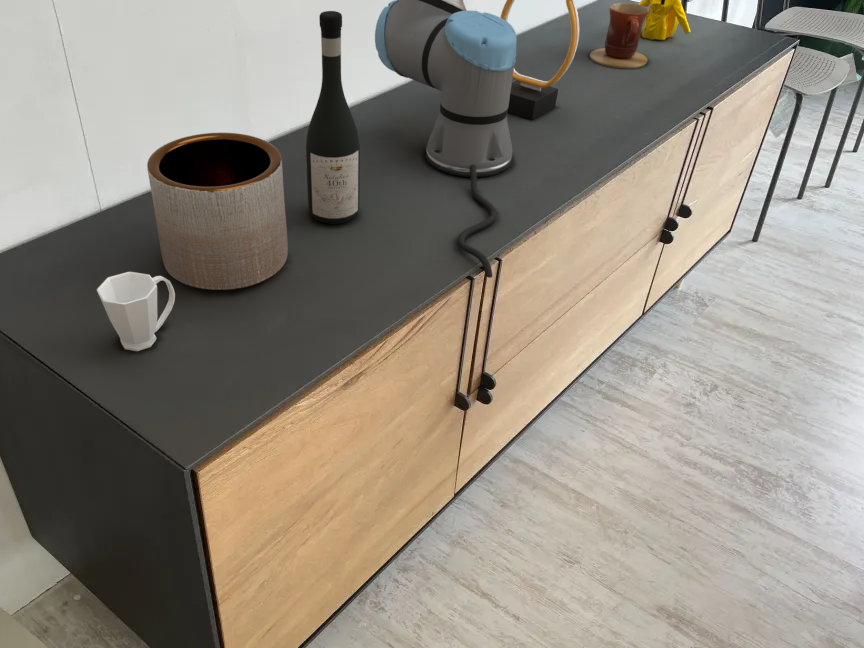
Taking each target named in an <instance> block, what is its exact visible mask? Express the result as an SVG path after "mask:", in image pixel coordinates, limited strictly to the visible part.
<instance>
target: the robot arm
mask: <svg viewBox="0 0 864 648" xmlns="http://www.w3.org/2000/svg"><path fill="white" fill-rule="evenodd" d="M664 3H665V0H661V4H660V5H664ZM500 17H501V16H497V15H495V14H492V13H489V12H485V11H484V12H480V11H478V10H467V8H466V5H465V2H464V0H392V1H390V2H389V3H388V5H387V6H385V7H383V8H382V9H381V12H380V14H379V16H378V18H377V21H376V25H375V30H374V44H375V50H376V51H377V55H378V58H379V60H380V62H381V63H382V65H384V67H386V68H387V69H388V70H390V71H392V72H394V73H396V75H398V76H400V77H403V78H406V79H409V80H412V81H415V82H418V83H420V84H423V85H425V86H427V87H430V88H433V89H436V90H438V91H440V102H439V103H440V104H439V113H438V116H437V118H436V121H435V123H434V125H433V129H432V131H431V133H430V136H429V138H428V140H427V144H426V149H425V150H426V151H425V158H426V161H427V162H428V163H429V164H430V165H431V166H432V167H434V168H435V169H437V170H438V171H440V172H443V173H446V174H449V175H453V176H459V177H468V178H470V190H471V194H472V195H473V197H474V198H475V200H476V201H477V202H478V203H479V204H480V205H481V206H483V207H484V208H485V209H486V210H487V211H488V212H489V217H488V218H487V219H485V220H483V221H481V222H479V223H477V224H474V225H472V226H470V227H468V228H466V229H464V230H463V231H462V232H460V234H459V236H458V238H457V244H458V247H459V248H460V249H461V250H462V251H464V252H466V253H468V254H470V255H471V256H474V257H475V258H476V259H477V260H478V261H480V263H481V265H482V268H483V270H484V275H485V277H486V278H489V279H491V278H492V277H493V270H492V266H491V263H490V260H489V259H488V258H487V257H486V256H485V254H484V253H482V252H481V251H480V250H478V249H476V248H474V247H473V246H470V245H469V244H467V243H466V242H465V240H466V238H467V237H468V236H470V235H471V234H475V233H477V232H478V231H480V230H483V229H485V228H488V227H489V226H490V225H492V224H493V223H494V222H495V221H496V219H497V214H498V213H497V210H496V208H495V206H494V205H493V204H492V203H491V202H489V201H488V200H487V199H485V198H484V197H483V196H482V195H481V193H480V192H479V190H478V178H481V177H489V176H494V175H497V174H500V173H502V172H505V171H506V170H508V168H510V166H511V165H512V161H513V144H512V139H511V135H510V129H509V122H508V113H509V112H508V106H509V99H510V92H511V85H512V82H513V71H514V69H515V64H516V61H517V40H518V39H517V38H518V37H517V32H516V30H515V28H514V26H512V25H511V23H509V22H508V20H507V21H505V20H504V19H502V18H500Z"/></svg>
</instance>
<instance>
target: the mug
mask: <svg viewBox="0 0 864 648" xmlns="http://www.w3.org/2000/svg"><path fill="white" fill-rule="evenodd" d="M649 9H650V8H649V7H648V6H647V7H645V6H643V5H639V4H638V3H635V2H634V3H633V2H614V3H612V4H610V5H609V8H608V11H609V22H608V23H609V24H608V28H607V33H606V36H605V41H604V48H605V53H606V54H607V55H608V56H610V57H613V58H617V59H627V58H630V57H632V56H634V55H635V52H637V50H638V47H639V43H640V37H641V35H642V30H643V29H642V28H643V26H644V25H643V24H644V23H645V20H646V16H647V14H648V13H649Z"/></svg>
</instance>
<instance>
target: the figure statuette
mask: <svg viewBox="0 0 864 648" xmlns="http://www.w3.org/2000/svg"><path fill="white" fill-rule="evenodd" d="M681 1H682V0H665V3H664V5H660V4H661V0H641V1H639V2H638V3H637V4H639V5H643V6H645V7H647V8H648V6H649V8H648V9H649V13H648V14H647V16H646V18H645V20H644V25H643V27H642V28H643V29H642V31H641V37H642V38H644V39H647V40H659V41H663V40H666V39H667V38H670V37H673V36H674V35H675V33H676V31H677V29H678V27H679V25H680V27H681V28H682V30H683V33H685V34H686V35H688V34H689V33H692V32H691V29H690V24H689V23H688V22H689V21H688V20H687V19H688V18H687V16H686V12H685V10H684V7H683V4H682V2H681Z"/></svg>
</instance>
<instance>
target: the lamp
mask: <svg viewBox="0 0 864 648" xmlns="http://www.w3.org/2000/svg"><path fill="white" fill-rule="evenodd" d="M515 1H516V0H506V1H505V3H504V5H503V8H502V10H501V12H500V13H501V14H500V16H499V17H500V18H502V19H504V20H505V21H507V22H508V18H509V15H510V12H511V10H512V7H513V5H514V3H515ZM565 3H566V8H567V12H568V16H569V22H570V42H569V46H568V51H567V54H566V56H565V59H564V60H563V63H562V64H561V66H560V68H559V69H558V71H557V72H556V73H555V74H554V75H553V77H552V78H551V79H549V80H548V81H546V80H541V79H538V78H535V77H531V76H528V75H524V74H521V73H519V72H518V71H517V70H516V69H515V68H514V71H513V78H512V80H514V81H512V85H511V92H510V99H509V106H508V113H509V114H512V115H516V116H519V117H522V118H524V119H528V120H531V121H533V120H535V119H536V118H538V117H540V116H542V115H544V114H546V113H548V112H549V111H551V110H553V109H555V108H556V105H557V99H558V93H559V88H557V87H553V85H554V84H556V83H557V82H558V81H560V79H562V77H563V76H564V75H565V74H566V72H567V71H568V69H569V68H570V66H571V64H572V62H573V61H574V58H575V55H576V52H577V49H578V46H579V41H580V40H579V39H580V19H579V13H578V8H577V4H576V1H575V0H565Z"/></svg>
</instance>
